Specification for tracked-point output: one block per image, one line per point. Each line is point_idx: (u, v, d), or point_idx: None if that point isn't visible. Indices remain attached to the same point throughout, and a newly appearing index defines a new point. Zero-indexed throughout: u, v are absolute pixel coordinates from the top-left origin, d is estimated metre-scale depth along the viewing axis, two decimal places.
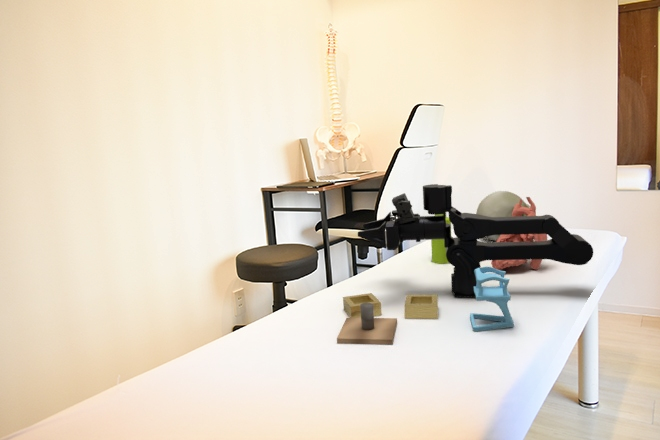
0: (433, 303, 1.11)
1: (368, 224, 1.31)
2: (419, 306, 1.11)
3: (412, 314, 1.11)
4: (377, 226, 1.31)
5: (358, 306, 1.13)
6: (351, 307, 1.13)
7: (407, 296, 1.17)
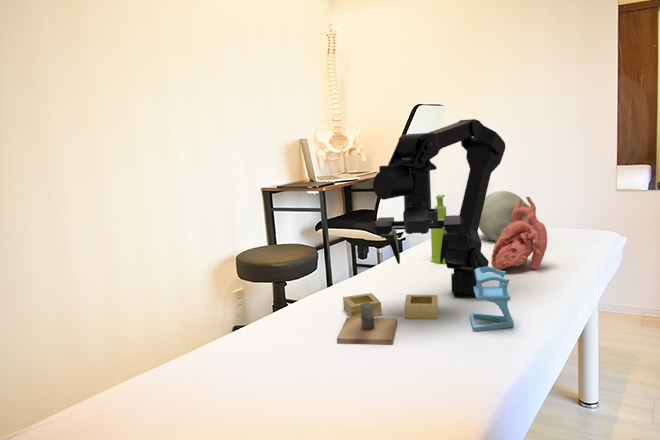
0: (433, 303, 1.11)
1: (399, 257, 1.13)
2: (419, 306, 1.11)
3: (412, 314, 1.11)
4: (397, 247, 1.13)
5: (358, 306, 1.13)
6: (351, 307, 1.13)
7: (407, 296, 1.17)
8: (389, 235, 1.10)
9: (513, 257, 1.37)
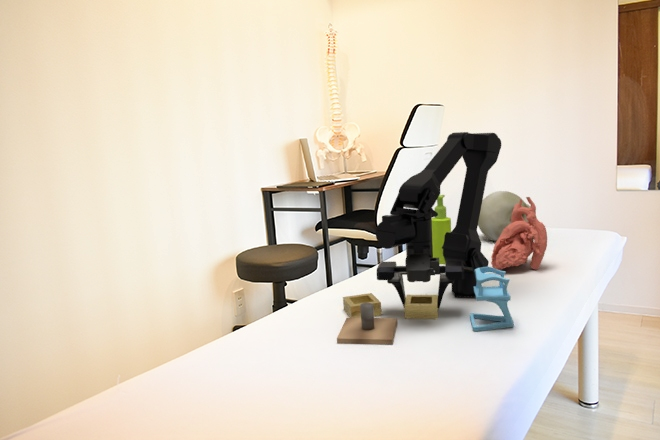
0: (433, 303, 1.11)
1: None
2: (419, 306, 1.11)
3: (412, 314, 1.11)
4: (403, 291, 1.15)
5: (358, 306, 1.13)
6: (351, 307, 1.13)
7: (407, 296, 1.17)
8: (396, 281, 1.12)
9: (513, 257, 1.37)
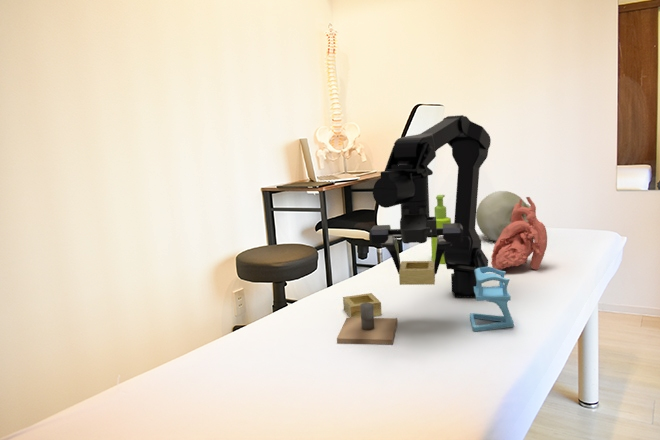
0: (430, 268, 1.03)
1: None
2: (415, 271, 1.03)
3: (407, 280, 1.04)
4: (398, 256, 1.07)
5: (358, 306, 1.13)
6: (351, 307, 1.13)
7: (402, 262, 1.09)
8: (389, 244, 1.04)
9: (513, 257, 1.37)
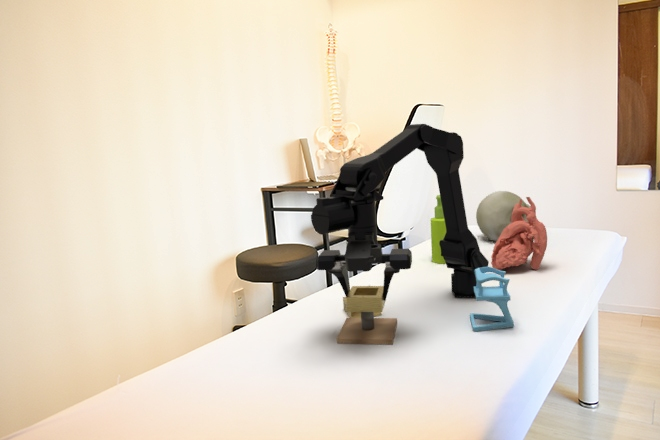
0: (378, 295, 1.01)
1: None
2: (362, 298, 1.01)
3: (355, 307, 1.01)
4: (347, 282, 1.05)
5: None
6: None
7: (352, 288, 1.07)
8: (337, 270, 1.02)
9: (513, 257, 1.37)
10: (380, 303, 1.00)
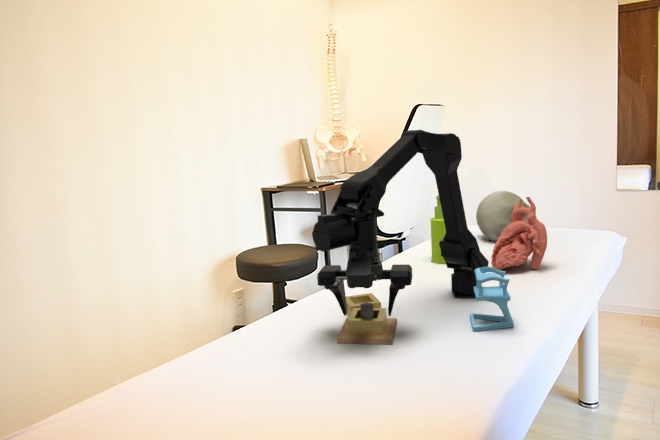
0: (379, 318, 1.02)
1: (345, 309, 1.05)
2: (363, 321, 1.02)
3: (356, 330, 1.02)
4: (344, 297, 1.06)
5: (358, 306, 1.13)
6: (351, 307, 1.13)
7: (353, 310, 1.08)
8: (333, 286, 1.03)
9: (513, 257, 1.37)
10: (381, 326, 1.01)
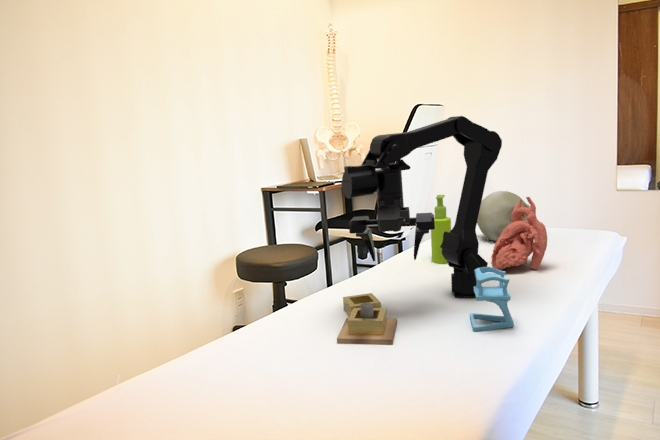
0: (379, 318, 1.02)
1: (374, 255, 1.16)
2: (363, 321, 1.02)
3: (356, 330, 1.02)
4: (372, 245, 1.16)
5: (358, 306, 1.13)
6: (351, 307, 1.13)
7: (353, 310, 1.08)
8: (364, 234, 1.13)
9: (513, 257, 1.37)
10: (381, 326, 1.01)
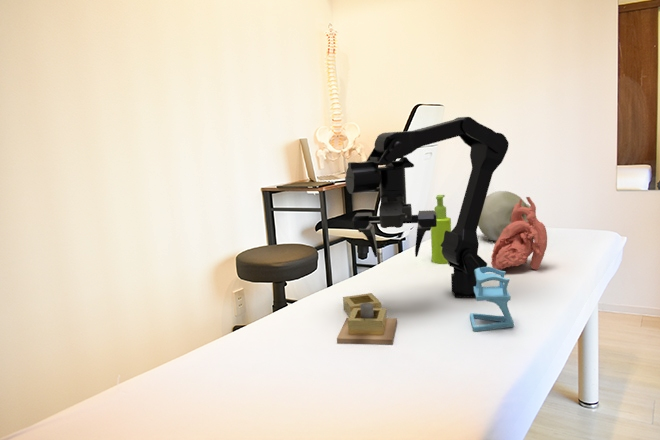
0: (379, 318, 1.02)
1: (376, 251, 1.18)
2: (363, 321, 1.02)
3: (356, 330, 1.02)
4: (375, 241, 1.18)
5: (358, 306, 1.13)
6: (351, 307, 1.13)
7: (353, 310, 1.08)
8: (366, 229, 1.15)
9: (513, 257, 1.37)
10: (381, 326, 1.01)
